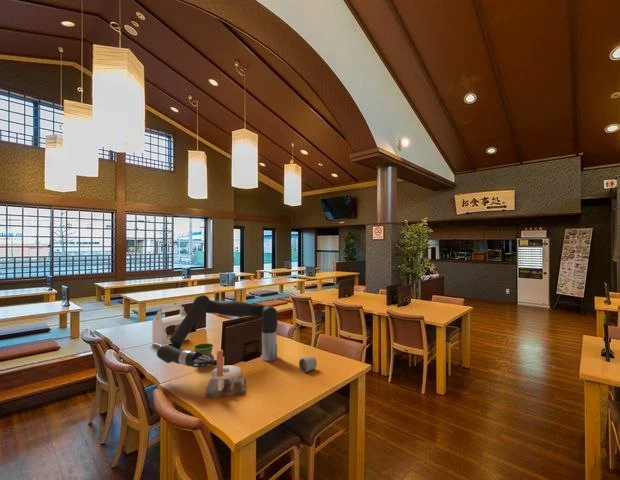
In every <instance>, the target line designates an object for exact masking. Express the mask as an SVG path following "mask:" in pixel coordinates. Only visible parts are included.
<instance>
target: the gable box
mask: <svg viewBox="0 0 620 480" xmlns="http://www.w3.org/2000/svg"><path fill="white" fill-rule="evenodd" d="M159 309H160V310H158V311H156V315H155V316H154V317H153V319H152V322H151V323H152V325H151V327H152V331H151V334H152V337H151V338H152V342H154V343H158V344H161V345H164V344H167V343H171V341H167V338H168V337H171V336H172V335H173V334H167V331H166V329H167V327H169V326H174V331H175V330H176V329H177V328H178V326H179V325H180V324H181V322H182V321H183V320H184V318H185V317H186V316H187V314H188V313H187V312H186V310H185V306H182V304H181V303H175V304H170V305H163V306H160V308H159ZM173 311H179V314H175V315H170V316H169V315H168V316H165V317H162V314H164V313H168V312H173ZM187 338H190V333H189V334H188V335H187V337H186V338H185V339H187Z"/></svg>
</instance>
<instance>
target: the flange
mask: <svg viewBox="0 0 620 480" xmlns="http://www.w3.org/2000/svg"><path fill="white" fill-rule="evenodd" d="M216 360H217V365H216V368H214V369H212V370H211V372H210V377H211V378H214V379H217V380H219V381H218V391H222V389H223V388H224V380H227V379H230V378H232V377H234V378H235V377H237V376H241V370H242V368H241V367H239V366H237V365H224V350H223V349H217V350H216Z"/></svg>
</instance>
